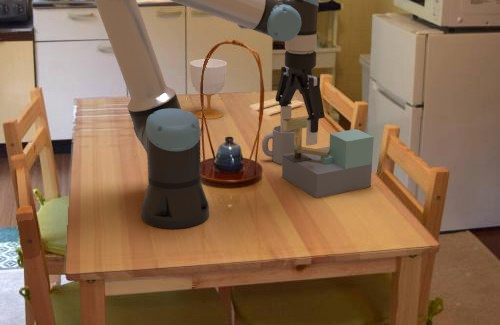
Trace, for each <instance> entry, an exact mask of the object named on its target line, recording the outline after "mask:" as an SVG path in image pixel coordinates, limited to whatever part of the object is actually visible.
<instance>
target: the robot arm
mask: <svg viewBox="0 0 500 325" xmlns="http://www.w3.org/2000/svg"><path fill="white" fill-rule="evenodd" d="M170 1H172V2H173V3H176V4H180V5H182V6H185V7H189V8H191V9H194V10H197V11H199V12H203V13H206V14H208V15H211V16H214V17H216V18H219V19H222V20H224V21H228V22H229V23H230V22H231V23H233V24H236V25H237V27H239V28H240V29H244V30H245V29H246V30H247V29H248V30H252V31H254V32H258V33H260V34H263V35H266V36H270V37H271V38H272V39H274V40H277V41H281V42H284V49H285V50H286V51H285V52H284V65H285V66H281V69H280V77H279V82H278V86H277V91H276V94H275V99H274V100H275V101H276V102H277V103H278V104H279V107H280V112H279V113H280V125H279V126H280V132H286V130H284V129H283V120H284V119H290V118H292V110H293V109H292V104H293V103H292V99H293V98H294V95H295V94H296V91H298V92H299V94H301V96H302V100H303V102H304V106H305V108H306V112H307V116H309V117H308V118H307V127H306V130H305V131H306V134H305V136H306V138H305V145H306V146H313V145H317V144H318V133H319V119H325V114H326V113H325V110H324V103H323V98H322V92H321V77H320V76H318V75H317V76H314V75H313V72H312V70H313V69H314V68H315V67H316V65H317V52H316V51H315V50H317V39H318V36H317V34H318V19H319V18H318V17H319V16H318V14H319V7H320V6H319V5H320V4H319V0H170ZM94 3H95V5H96V7H97V10H98V12H99V15H100V19H101V22H102V24H103V27H104V29H105V33H106V34H107V38H108V40H109V43H110V46H111V48H112V51H113V54H114V56H115V59H116V62H117V65H118V67H119V70H120V72H121V75H122V78H123V81H124V84H125V86H126V89H127V91H128V94H129V96H130V99H129V102H128V104H127V107H126V108H127V110H128V113H129V116H130V119H131V122H132V125H133V131H134V134H135V136H136V137H137V139H138V141H139V142H140V144H141V146H142V147H143V149H144V150H145V152H146V158H147V180H148V182H147V184H148V185H147V188H146V192H145V194H144V198H143V202H142V205H141V207H140V208H141V219H142V220H143V222H144V223H147V224H148V225H150V226H153V227H156V228H161V229H184V228H185V229H186V228H191V227H195V226H197V225H200V224H202V223H203V222H205V221H206V220H208V218H209V217H210V207H209V206H210V205H209V202H208V200H207V196H206V194H205V191H204V188H203V186H202V181H201V180H202V179H201V173H202V172H201V168H202V167H201V137H202V130H201V127H200V121H199V118H197V117H196V116H195V113H194V112H191V111H188V110H187V111H186V110H185V109H182V107H181V105H180V102H179V99H178V96H177V92H176V91H175V90H174V89H173V88H172V87H169V86H167V85H166V81H165V79H164V75H163V73H162V69H161V68H160V65H159V61H158V59H157V56H156V55H157V54H156V52H155V50H154V47H153V44H152V40H151V38H150V36H149V33H148V29H147V28H146V25H145V21H144V19H143V16H142V13H141V10H140V7H139V4H138V2H137V0H94ZM288 131H291V130H288Z"/></svg>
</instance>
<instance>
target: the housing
mask: <svg viewBox="0 0 500 325" xmlns="http://www.w3.org/2000/svg"><path fill="white" fill-rule="evenodd" d="M329 147H330V146H325V147H320V148H318V149H320V150H328V151H329ZM320 161H321V156H318V155H311V154H304V153H301V158H294V153H290V154H284V155H283V158H282V164H281V165H282V166H281V170H282V171H281V172H282V173H281V177H282V178H283V179H285V180H286V181H288V182H290V184H293V185H295V186H296V187H298V188H300V189H301V190H302V191H304V192H306V193H308V194H309V195H311V196H312V197H314V198H315V199H318V198H322V197H328V196H332V195H333V196H334V195H338V194H343V193H347V192H351V191H356V190H361V189H366V188H370V187H371V188H372V186H371V185H372V171H373V163H372V164H369V165H364V166H359V167H353V168H348V169H344V168H342V167H340V166H338V165H337V164H335V163H330V164H323V163H321V162H320Z"/></svg>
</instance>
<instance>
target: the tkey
mask: <svg viewBox="0 0 500 325" xmlns="http://www.w3.org/2000/svg"><path fill="white" fill-rule="evenodd" d="M308 117H309V116H308V115H305V116H299V117H291V118H290V119H284V120H283V129H284V130H286V131H288V130H294V129H295V142H294V158H301V153H304V154H311V155H318V156H325V157H328V156H329V155H330V151H328V150H320V149H319V148H312V147H305V146H303V129H305V128H306V129H307V118H308Z"/></svg>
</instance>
